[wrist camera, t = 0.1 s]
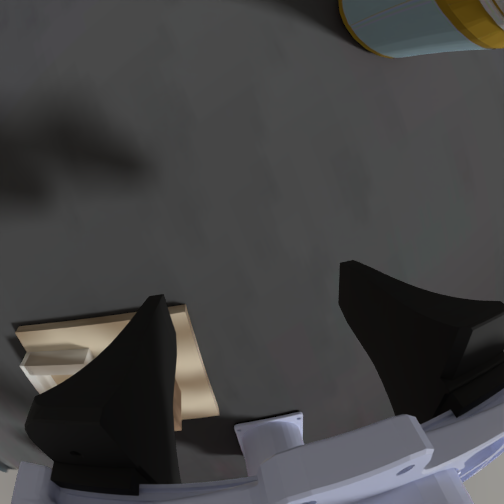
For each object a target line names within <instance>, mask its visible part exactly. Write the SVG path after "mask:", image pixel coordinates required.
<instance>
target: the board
mask: <svg viewBox="0 0 504 504" xmlns="http://www.w3.org/2000/svg"><path fill="white" fill-rule="evenodd" d="M168 310H169V313H170V316H171V319H172V322H173V325H174V328H175V331H176V338H177V362H176V373H175V379H176V381H177V383H178V386H179V388H180V390H181V420H185V419H194V418H203V417H211V416H218V415H219V408H218V405H217V402H216V399H215V396H214V394H213V391H212V388H211V385H210V382H209V379H208V376H207V373H206V370H205V367H204V364H203V361H202V357H201V354H200V351H199V348H198V345H197V341H196V338H195V335H194V332H193V328H192V325H191V321H190V318H189V315H188V311H187V308H186V304H185V305H178V306H172V307H168ZM136 313H137V312H132V313H125V314H118V315H110V316H103V317H95V318H87V319H79V320H71V321H63V322H54V323H45V324H36V325H26V326H19V327H18V329H17V330H16V332H15V333H16V335H17V337H18V338H19V340H20V342H21V343H22V345H23V347H24V348H25V350H26V352H27V353H26V355H25V357H24V359H23V360H22V362H21V364H20V367H21V369H22V370H23V372H24V373H25V374H26V376H27V377H28V379H29V380H30V382H31V383H32V384H33V386H34V387H35V388H36V390H37V391H38V392H39V394H41V393H43V392H45V391H47V390H49V389H51V388H53V387H55V386H57V385H58V384H60V383H62V382H63V381H65V380H66V379H68V378H70V377H71V376H72V375H74V374H75V373H77V372H78V371H80V370H81V369H82V368H83V367H85V366H86V365H87V364H88V363H90V362H91V361H92V360H93V359H95V358H96V357H97V356H98V355H99V354H100V353H101V352H102V351H103V350H104V349H105V348H106V347H107V346H108V345H109V344H110V343H111V342H112V341H113V340H114V339H115V338H116V337H117V336H118V334H119V333H120V332H121V331H122V330H123V329H124V328H125V326H126V325H127V324H128V323H129V321H130V320H131V319H132V318H133V316H134V315H135V314H136Z"/></svg>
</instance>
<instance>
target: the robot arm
mask: <svg viewBox="0 0 504 504" xmlns="http://www.w3.org/2000/svg"><path fill="white" fill-rule="evenodd" d="M338 303H339V306H340V308H341V310H342V312H343V315H344V317H345V319H346V321H347V323H348V324H349V326H350V327H351V329H352V331H353V332H354V334H355V335H356V337H357V338H358V340H359V341H360V343H361V345H362V346H363V348H364V349H365V351H366V352H367V354H368V355H369V357H370V359H371V360H372V362H373V364H374V366H375V368H376V370H377V372H378V374H379V376H380V378H381V380H382V383H383V385H384V387H385V390H386V392H387V395H388V397H389V399H390V402H391V405H392V408H393V410H394V413H395V416H394V417H390V418H386V419H384V420H381V421H378V422H376V423H373V424H370V425H367V426H364V427H362V428H359V429H356V430H353V431H349V432H346V433H343V434H340V435H337V436H333V437H330V438H326V439H323V440H319V441H315V442H312V443H308V444H304V442H303V414H302V412H295V413H291V414H287V415H282V416H278V417H273V418H268V419H263V420H257V421H252V422H246V423H240V424H236V425H235V426H234V429H235V432H236V435H237V438H238V441H239V444H240V447H241V450H242V453H243V455H244V458H245V462H246V467H247V473H248V477H244V478H237V479H229V480H221V481H211V482H199V483H184V484H181V479H180V473H179V467H178V459H177V452H176V442H175V431H174V416H173V397H174V384H175V373H176V362H177V338H176V331H175V328H174V325H173V322H172V319H171V316H170V313H169V310H168V307H167V303H166V300H165V297H164V294H161V295H155V296H149V297H148V298H147V300H146V301H145V302H144V303H143V305H142V306H141V307H140V309H139V310H138V311H137V313H136V314H135V315H134V316H133V318H132V319H131V320H130V321H129V323H128V324H127V325H126V326H125V328H124V329H123V330H122V331H121V332H120V333H119V334H118V336H117V337H116V338H115V339H114V340H113V341H112V342H111V343H110V344H109V345H108V346H107V347H106V348H105V349H104V350H103V351H102V352H101V353H100V354H99V355H98V356H97V357H96V358H95V359H93V360H92V361H91V362H90V363H88V364H87V365H86V366H85V367H83V368H82V369H81V370H80V371H78V372H77V373H75V374H74V375H72V376H71V377H70V378H68V379H66V380H65V381H63V382H62V383H60V384H58V385H57V386H55V387H53V388H51V389H49V390H47V391H45V392H43V393H41V394H39V395H37V396H35V398H34V400H33V403H32V406H31V409H30V411H29V414H28V417H27V420H26V423H25V430H26V432H27V434H28V436H29V438H30V439H31V440H32V441H33V442H34V443H35V444H36V445H37V446H38V447H39V448H40V449H41V450H42V451H43V452H44V453H45V454H46V455H47V456H48V457H50V458H51V459H52V460H53V461H54V464H53V469H51V468H49V467H47V466H45V465H41V464H35V463H30V462H26V461H21V462H20V466H19V470H18V474H17V478H16V482H15V487H14V491H13V496H12V502H11V504H474V503H473V501H472V499H471V497H470V495H469V493H468V491H467V490H466V488H465V486H464V484H463V482H464V481H466V480H467V479H469V478H470V477H472V476H473V475H474V474H476V473H477V472H479V471H480V470H481V469H483V468H484V467H485V466H486V465H488V464H489V463H490V462H492V461H493V460H494V459H496V458H497V457H498V456H499V455H501V454H502V453H503V452H504V352H503V350H504V304H503V303H502V302H501V301H479V300H469V299H462V298H456V297H451V296H446V295H441V294H437V293H433V292H430V291H427V290H424V289H420V288H417V287H415V286H412V285H409V284H407V283H404V282H402V281H399V280H397V279H395V278H392V277H390V276H388V275H386V274H384V273H382V272H379V271H377V270H375V269H373V268H371V267H369V266H366V265H364V264H362V263H360V262H357V261H354V260H352V261H347V262H342V263H340V278H339V302H338Z"/></svg>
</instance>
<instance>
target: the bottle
mask: <svg viewBox="0 0 504 504" xmlns="http://www.w3.org/2000/svg"><path fill="white" fill-rule="evenodd" d="M339 12H340V15H341V18H342V20H343V23H344V25H345V27H346V28H347V30H348V31H349V32H350V34H351V35H352V37H353V38H354V39H355V40H356V41H357V42H358V43H360V44H361V45H362V46H363V47H364V48H365V49H367V50H369V51H371V52H372V53H374V54H376V55H379V56H382V57H387V58H400V57H408V56H415V55H423V54H430V53H439V52H450V51H462V50H479V49H496V48H504V0H339Z"/></svg>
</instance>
